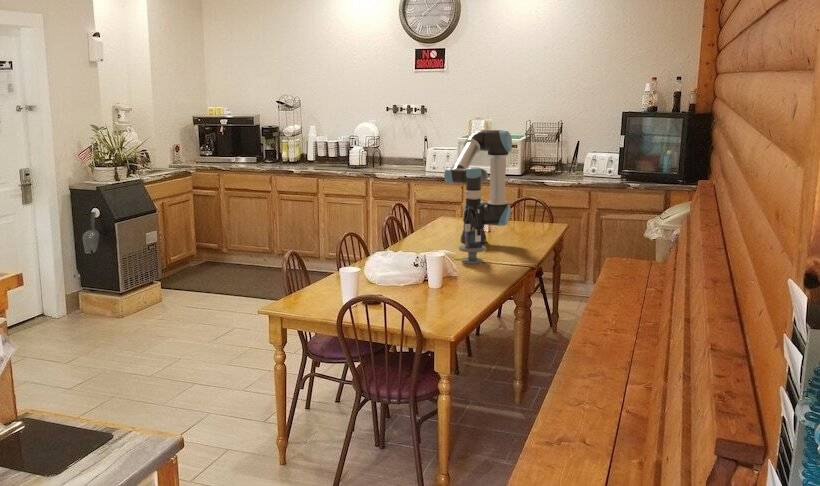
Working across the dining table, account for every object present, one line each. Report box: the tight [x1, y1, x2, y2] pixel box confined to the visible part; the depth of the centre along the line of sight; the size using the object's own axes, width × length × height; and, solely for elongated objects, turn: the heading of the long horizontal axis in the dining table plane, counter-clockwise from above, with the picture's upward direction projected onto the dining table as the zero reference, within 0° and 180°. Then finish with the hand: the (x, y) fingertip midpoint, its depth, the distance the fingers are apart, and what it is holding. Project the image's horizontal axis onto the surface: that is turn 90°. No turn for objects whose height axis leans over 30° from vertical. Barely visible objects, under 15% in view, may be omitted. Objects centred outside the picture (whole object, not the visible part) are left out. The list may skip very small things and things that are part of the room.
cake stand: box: [458, 244, 487, 265], centre depth 381 cm, size 14×14×8 cm
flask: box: [464, 227, 483, 248], centre depth 379 cm, size 9×3×11 cm, turn 105°
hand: (472, 238), depth 379 cm, fingers open, 13 cm apart
